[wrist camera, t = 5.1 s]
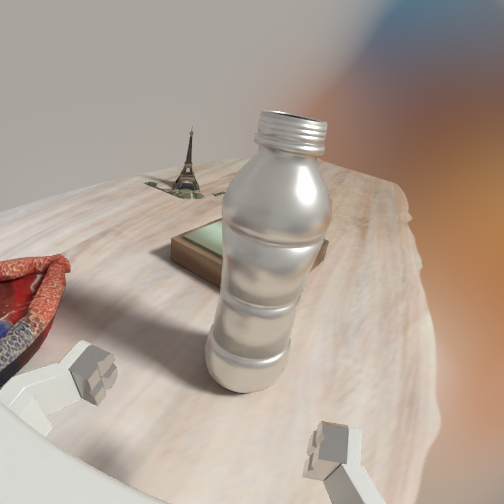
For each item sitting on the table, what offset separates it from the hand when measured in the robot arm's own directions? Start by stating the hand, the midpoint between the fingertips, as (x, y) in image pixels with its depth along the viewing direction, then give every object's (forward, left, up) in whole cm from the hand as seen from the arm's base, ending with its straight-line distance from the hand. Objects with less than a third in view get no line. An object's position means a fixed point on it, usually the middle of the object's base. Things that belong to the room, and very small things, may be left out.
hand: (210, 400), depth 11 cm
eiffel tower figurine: (+39, +40, -12) cm, 57 cm away
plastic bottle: (+10, +4, -11) cm, 16 cm away
